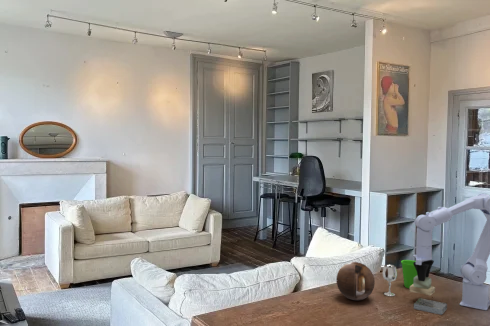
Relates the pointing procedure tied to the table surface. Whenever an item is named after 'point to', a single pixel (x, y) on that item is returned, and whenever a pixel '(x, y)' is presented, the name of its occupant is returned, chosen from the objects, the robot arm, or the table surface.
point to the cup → (408, 272)
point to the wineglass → (389, 276)
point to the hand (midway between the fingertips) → (423, 279)
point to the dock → (430, 306)
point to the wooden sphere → (355, 281)
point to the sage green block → (422, 286)
